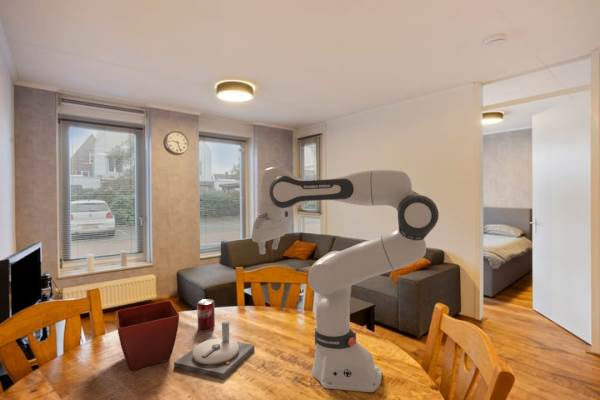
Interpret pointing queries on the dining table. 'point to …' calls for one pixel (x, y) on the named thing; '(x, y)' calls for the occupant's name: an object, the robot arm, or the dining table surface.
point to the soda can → (206, 315)
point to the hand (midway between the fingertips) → (268, 251)
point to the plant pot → (147, 333)
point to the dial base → (214, 369)
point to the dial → (216, 348)
